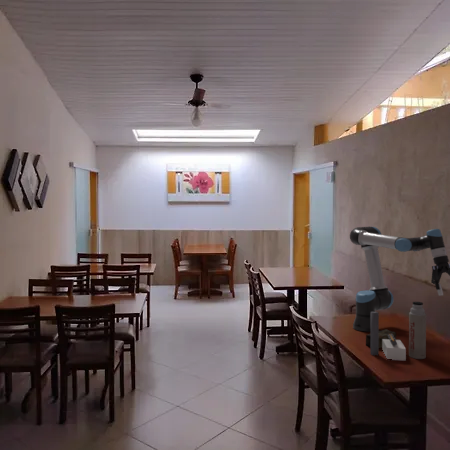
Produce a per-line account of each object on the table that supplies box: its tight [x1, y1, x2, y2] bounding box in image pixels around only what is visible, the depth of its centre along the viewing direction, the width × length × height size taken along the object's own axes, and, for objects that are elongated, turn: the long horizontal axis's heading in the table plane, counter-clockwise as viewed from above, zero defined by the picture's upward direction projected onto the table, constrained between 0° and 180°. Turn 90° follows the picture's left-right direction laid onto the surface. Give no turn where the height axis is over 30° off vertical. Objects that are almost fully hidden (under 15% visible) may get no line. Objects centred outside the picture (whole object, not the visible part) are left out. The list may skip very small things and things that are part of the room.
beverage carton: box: [365, 329, 397, 349], centre depth 252 cm, size 8×19×7 cm, turn 129°
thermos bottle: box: [408, 301, 427, 360], centre depth 230 cm, size 8×8×28 cm
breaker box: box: [381, 339, 407, 362], centre depth 233 cm, size 15×9×6 cm, turn 169°
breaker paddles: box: [388, 334, 397, 345], centre depth 233 cm, size 10×2×3 cm, turn 169°
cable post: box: [369, 311, 380, 356], centre depth 234 cm, size 4×4×22 cm
